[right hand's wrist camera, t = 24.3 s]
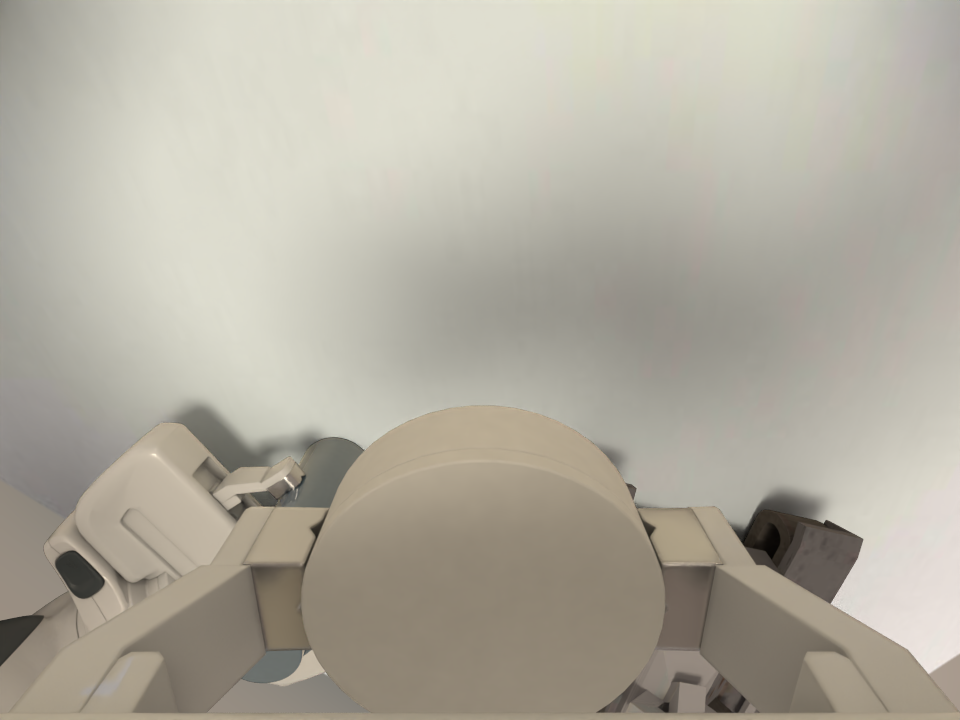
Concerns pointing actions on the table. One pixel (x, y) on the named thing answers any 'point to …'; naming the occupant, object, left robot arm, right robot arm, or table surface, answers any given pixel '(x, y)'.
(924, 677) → the right robot arm
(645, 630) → the lid
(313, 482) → the jar
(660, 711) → the toy
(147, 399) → the table surface
